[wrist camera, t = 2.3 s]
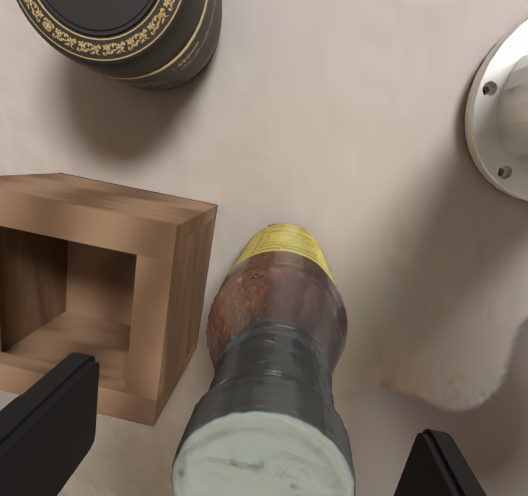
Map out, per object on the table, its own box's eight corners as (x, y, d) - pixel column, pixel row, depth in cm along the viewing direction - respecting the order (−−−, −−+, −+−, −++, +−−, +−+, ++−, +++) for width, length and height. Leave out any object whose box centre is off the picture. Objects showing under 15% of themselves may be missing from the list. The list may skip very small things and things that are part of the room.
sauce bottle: (296, 307, 27) (294, 655, 8) (231, 268, 27) (68, 534, 8) (341, 242, 25) (477, 488, 6) (272, 200, 25) (194, 324, 6)
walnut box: (217, 204, 26) (176, 226, 17) (196, 347, 29) (153, 426, 20) (60, 173, 26) (-57, 178, 17) (58, 316, 30) (-41, 380, 21)
